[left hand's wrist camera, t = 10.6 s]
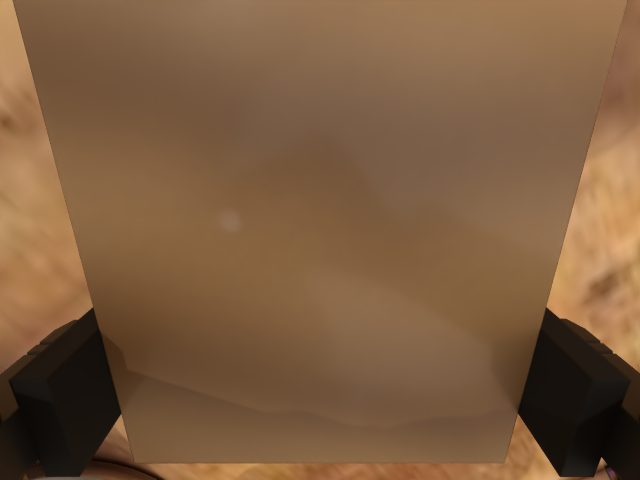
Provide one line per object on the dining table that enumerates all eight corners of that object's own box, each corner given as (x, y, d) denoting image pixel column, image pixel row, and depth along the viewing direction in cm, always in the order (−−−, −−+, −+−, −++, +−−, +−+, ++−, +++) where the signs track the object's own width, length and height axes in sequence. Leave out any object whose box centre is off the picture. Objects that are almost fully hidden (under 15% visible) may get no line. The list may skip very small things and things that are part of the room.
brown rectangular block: (167, -187, 12) (-260, -1020, 3) (472, -186, 12) (901, -1011, 3) (221, 297, 19) (133, 464, 10) (417, 297, 19) (505, 464, 10)
